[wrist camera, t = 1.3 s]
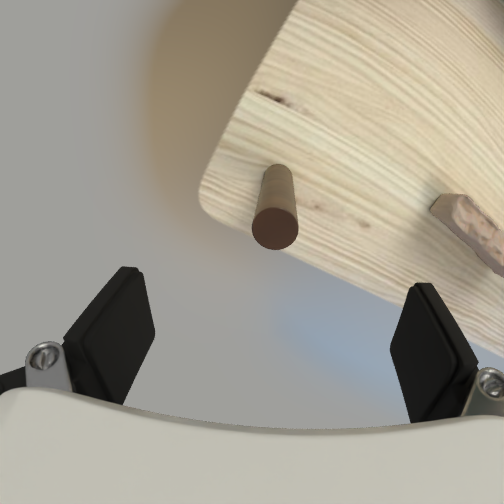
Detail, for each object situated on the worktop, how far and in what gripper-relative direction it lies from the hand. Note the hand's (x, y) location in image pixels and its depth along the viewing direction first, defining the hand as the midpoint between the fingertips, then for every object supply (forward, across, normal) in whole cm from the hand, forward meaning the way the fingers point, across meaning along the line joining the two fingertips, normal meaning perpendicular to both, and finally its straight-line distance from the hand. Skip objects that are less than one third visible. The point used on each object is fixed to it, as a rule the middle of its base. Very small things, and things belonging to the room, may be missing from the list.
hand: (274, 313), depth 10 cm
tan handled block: (+18, -28, +6) cm, 33 cm away
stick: (+17, 0, 0) cm, 17 cm away
